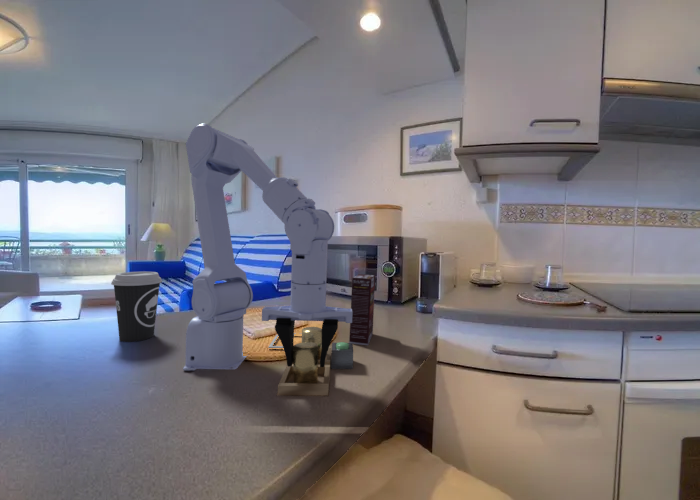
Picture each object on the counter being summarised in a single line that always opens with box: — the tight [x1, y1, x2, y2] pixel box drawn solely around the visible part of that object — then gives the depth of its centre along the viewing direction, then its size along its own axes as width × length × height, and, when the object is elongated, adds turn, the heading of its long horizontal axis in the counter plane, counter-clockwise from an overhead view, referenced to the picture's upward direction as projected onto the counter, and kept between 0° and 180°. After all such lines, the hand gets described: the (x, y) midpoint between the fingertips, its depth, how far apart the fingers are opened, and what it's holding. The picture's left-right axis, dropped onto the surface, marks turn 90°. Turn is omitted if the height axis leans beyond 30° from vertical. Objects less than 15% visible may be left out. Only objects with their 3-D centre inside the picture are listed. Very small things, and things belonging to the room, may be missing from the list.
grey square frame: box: [267, 332, 301, 349], centre depth 66 cm, size 9×9×1 cm
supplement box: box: [348, 273, 376, 346], centre depth 70 cm, size 9×5×16 cm, turn 168°
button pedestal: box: [331, 342, 354, 370], centre depth 55 cm, size 4×4×4 cm
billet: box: [293, 342, 318, 384], centre depth 47 cm, size 4×4×6 cm
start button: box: [336, 341, 349, 349], centre depth 55 cm, size 2×2×4 cm
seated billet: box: [301, 326, 322, 360], centre depth 56 cm, size 4×4×6 cm
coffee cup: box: [111, 271, 163, 343], centre depth 67 cm, size 10×10×15 cm
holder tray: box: [276, 345, 332, 397], centre depth 52 cm, size 8×17×2 cm, turn 2°
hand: (306, 364), depth 47 cm, fingers open, 5 cm apart
